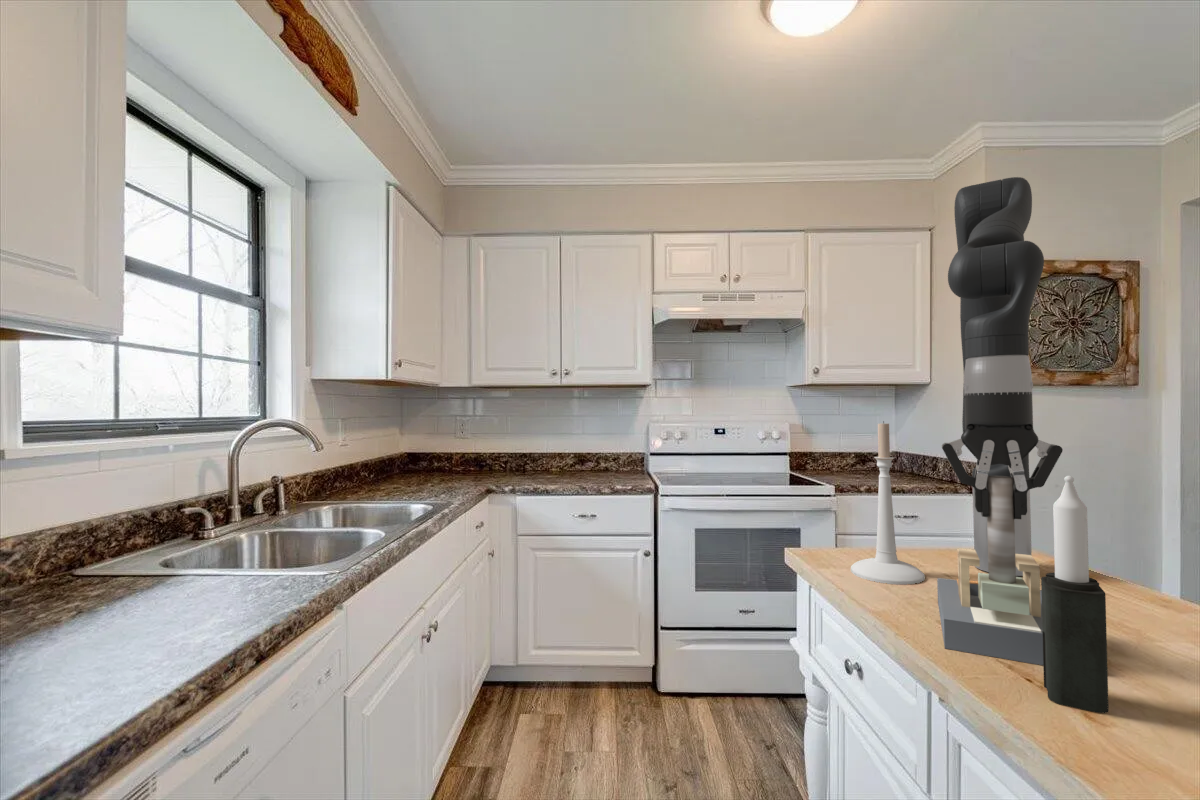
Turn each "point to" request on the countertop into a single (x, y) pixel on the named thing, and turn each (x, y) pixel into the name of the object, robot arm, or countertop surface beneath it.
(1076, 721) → the countertop surface
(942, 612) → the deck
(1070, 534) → the candle
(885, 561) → the candlestick
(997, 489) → the post on square base
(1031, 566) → the wooden brackets
